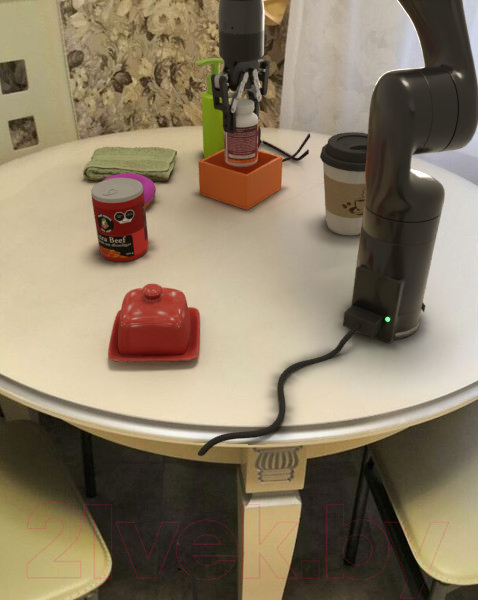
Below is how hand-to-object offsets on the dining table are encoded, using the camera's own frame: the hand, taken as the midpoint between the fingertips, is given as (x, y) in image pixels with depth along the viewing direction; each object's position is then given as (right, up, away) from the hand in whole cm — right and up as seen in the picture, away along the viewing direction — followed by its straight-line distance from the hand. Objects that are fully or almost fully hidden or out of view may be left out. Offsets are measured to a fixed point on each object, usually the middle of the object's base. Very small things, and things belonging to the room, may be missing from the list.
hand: (241, 126), depth 111 cm
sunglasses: (+8, -2, +20) cm, 22 cm away
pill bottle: (0, -6, +4) cm, 7 cm away
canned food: (-19, -23, -11) cm, 32 cm away
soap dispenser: (-6, 0, +22) cm, 23 cm away
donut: (-21, -13, +4) cm, 25 cm away
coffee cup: (+18, -18, -4) cm, 26 cm away
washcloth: (-22, -5, +16) cm, 28 cm away
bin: (0, -10, +7) cm, 13 cm away
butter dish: (-11, -37, -30) cm, 48 cm away
